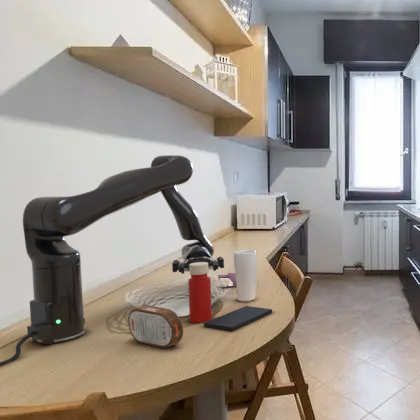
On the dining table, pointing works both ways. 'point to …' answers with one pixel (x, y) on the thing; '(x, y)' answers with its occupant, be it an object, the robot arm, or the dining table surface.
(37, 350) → the dining table surface
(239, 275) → the drinking glass
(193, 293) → the squeeze bottle
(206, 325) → the rubber mat
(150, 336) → the tin
